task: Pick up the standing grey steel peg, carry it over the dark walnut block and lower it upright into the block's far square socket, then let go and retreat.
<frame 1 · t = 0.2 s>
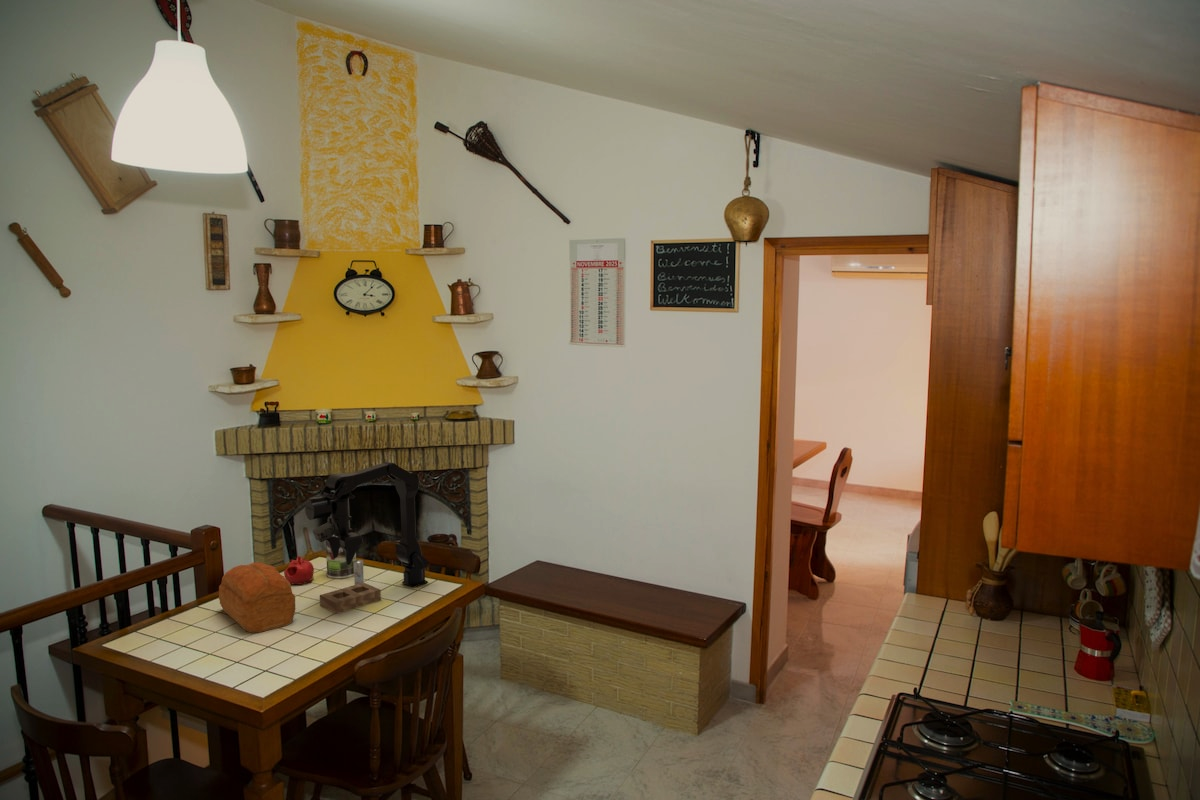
hand: (341, 561, 262), 14 cm above the table, fingers open, 9 cm apart
socket block: (350, 602, 265), on the table
bread: (257, 617, 253), on the table
coffee can: (341, 574, 292), on the table
pomegranate: (299, 581, 285), on the table
peg: (359, 586, 280), on the table
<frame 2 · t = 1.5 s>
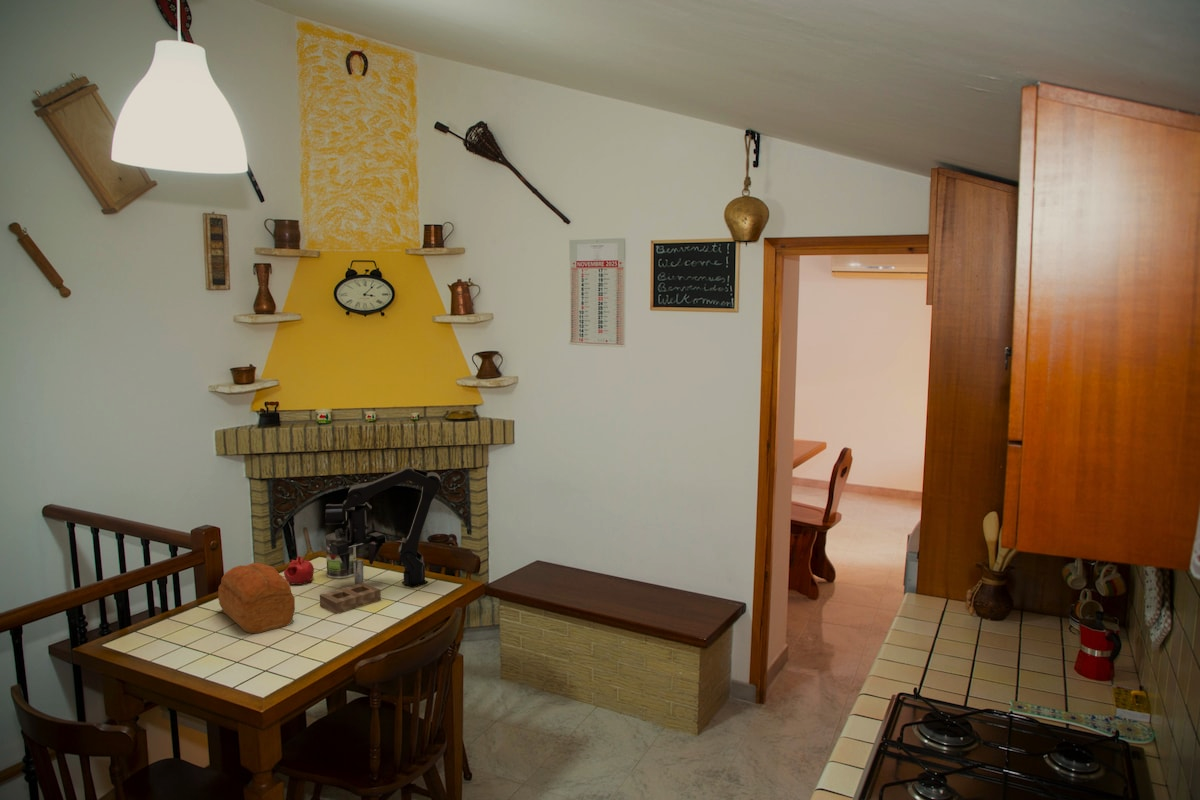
hand: (359, 567, 279), 7 cm above the table, fingers open, 9 cm apart
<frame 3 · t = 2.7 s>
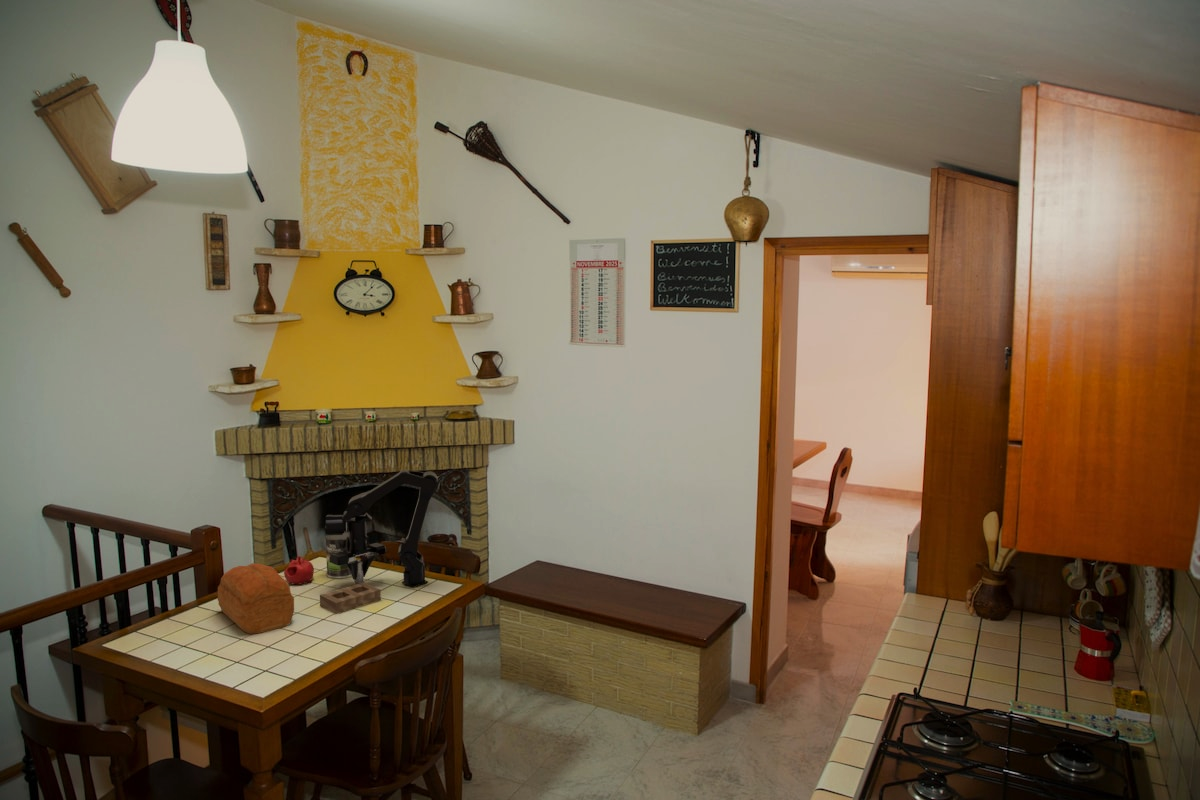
hand: (359, 578, 279), 3 cm above the table, fingers closed on peg, 3 cm apart
peg: (359, 586, 280), on the table, touching gripper
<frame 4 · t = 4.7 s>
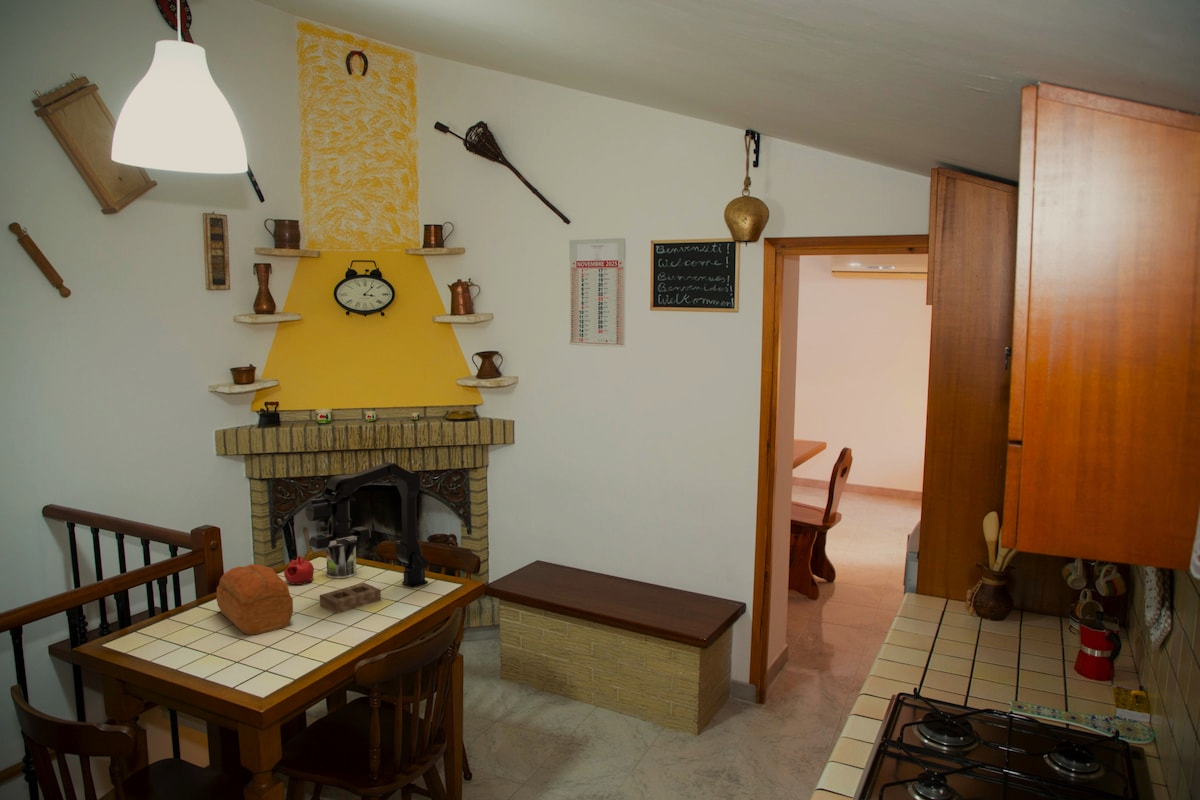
hand: (341, 563, 263), 13 cm above the table, fingers closed on peg, 3 cm apart
peg: (341, 572, 263), point 10 cm above the table, touching gripper
when the fingers open (4 cm above the table, at t = 6.6 s): peg stays where it is, resting in socket block.
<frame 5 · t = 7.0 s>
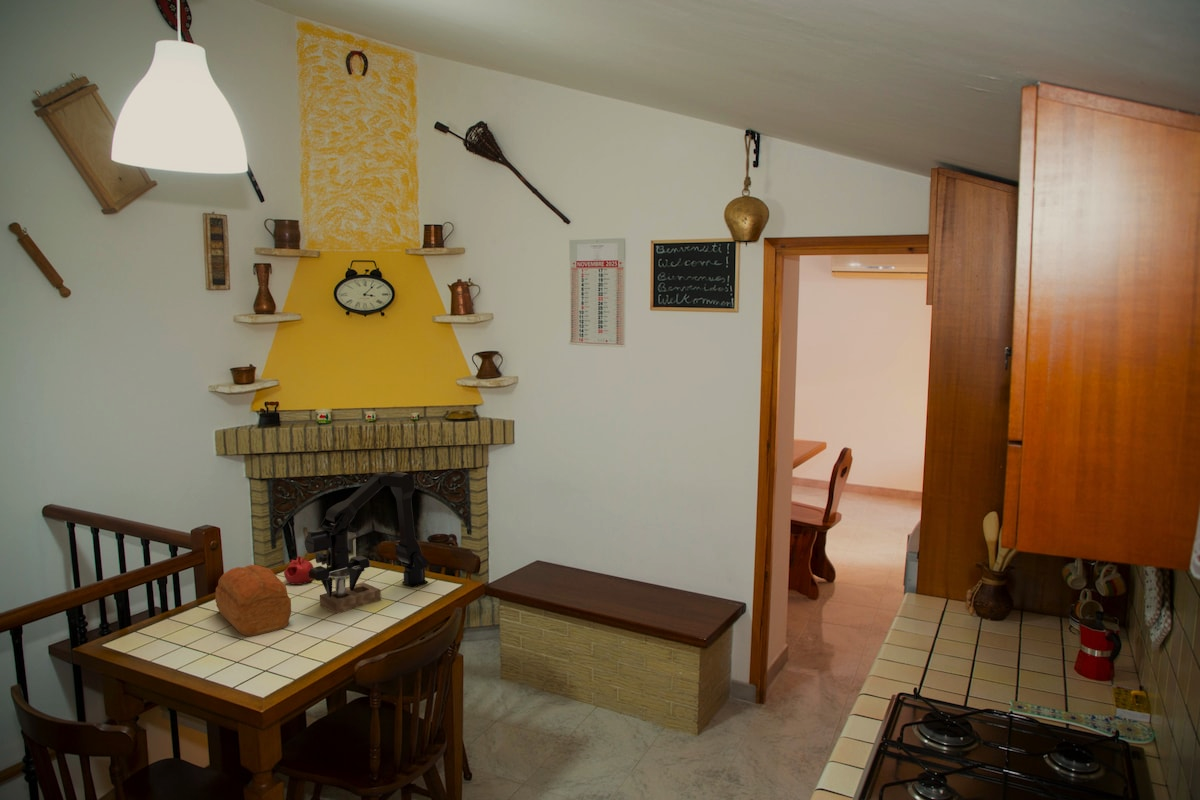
hand: (340, 593, 262), 4 cm above the table, fingers open, 7 cm apart
peg: (341, 605, 262), resting in socket block
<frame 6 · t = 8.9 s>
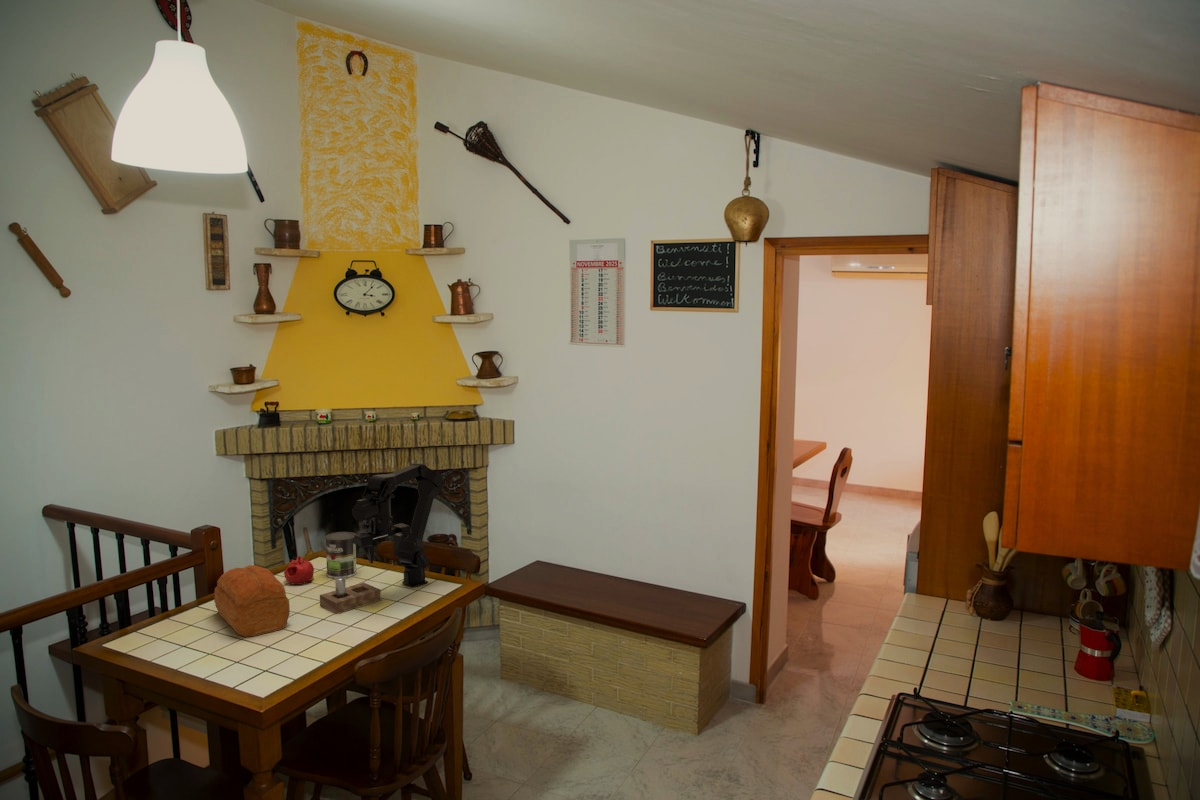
hand: (383, 559, 269), 13 cm above the table, fingers open, 9 cm apart
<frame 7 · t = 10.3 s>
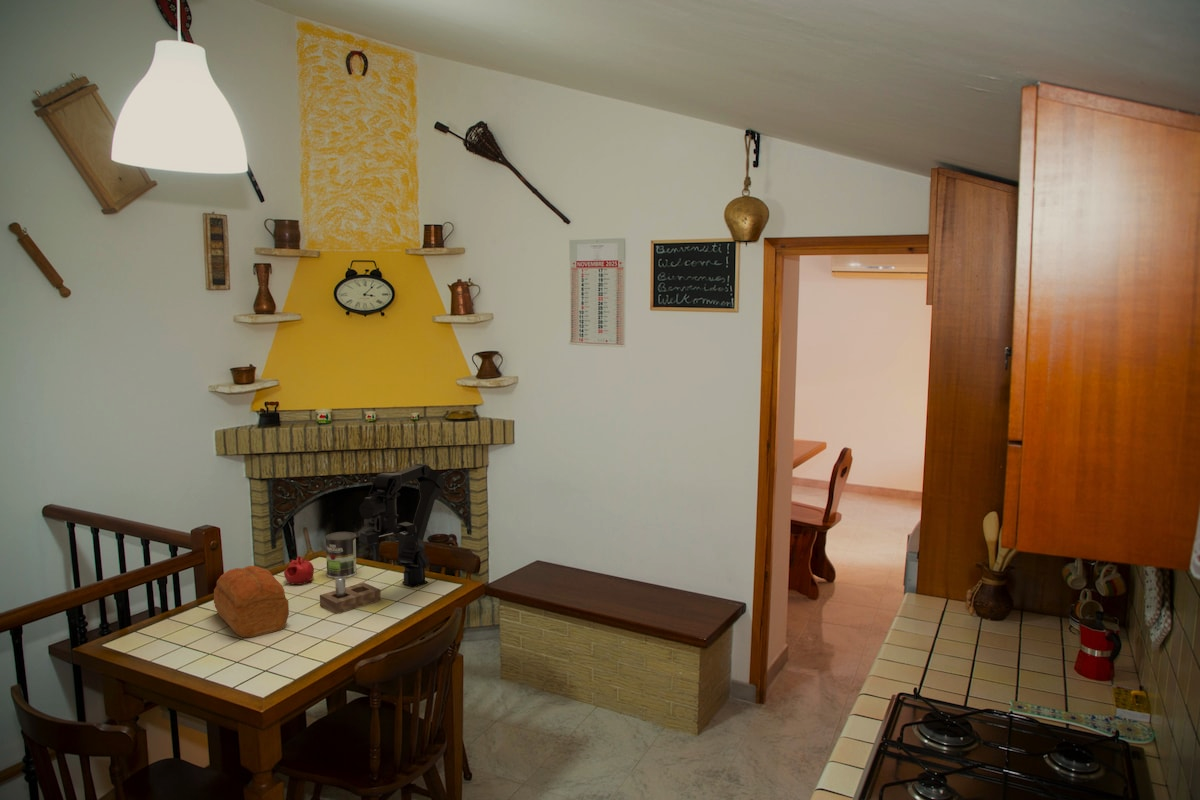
hand: (388, 558, 270), 13 cm above the table, fingers open, 9 cm apart
at the end: peg 0.1 cm from the target spot on the socket block, point 0.0 cm above the socket block's base; peg tilted 0°; the gripper is holding nothing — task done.
